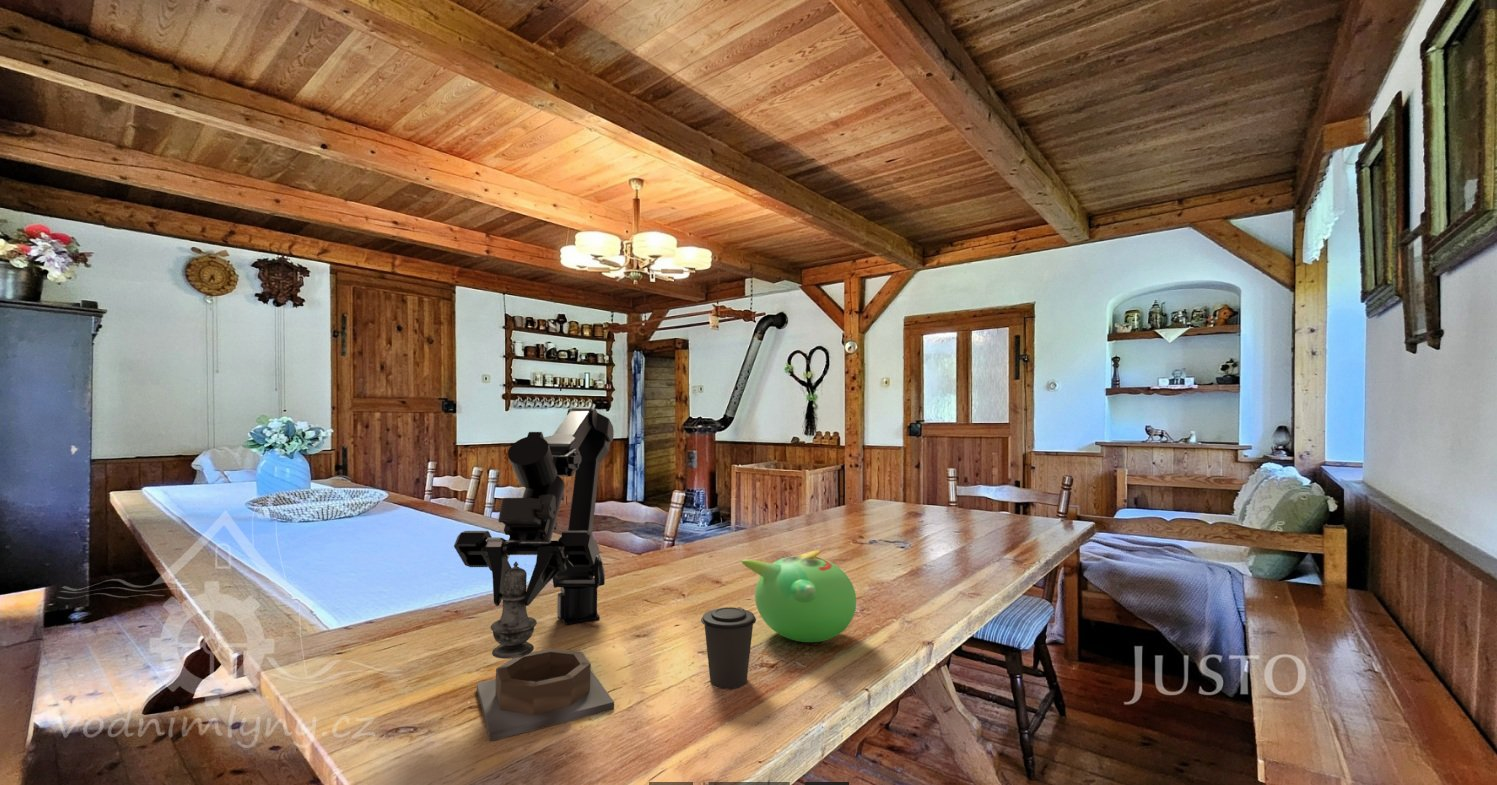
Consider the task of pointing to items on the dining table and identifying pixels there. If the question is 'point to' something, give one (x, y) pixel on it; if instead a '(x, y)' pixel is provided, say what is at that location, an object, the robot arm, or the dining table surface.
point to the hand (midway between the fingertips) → (511, 604)
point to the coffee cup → (728, 645)
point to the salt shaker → (513, 618)
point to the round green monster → (804, 597)
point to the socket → (541, 693)
